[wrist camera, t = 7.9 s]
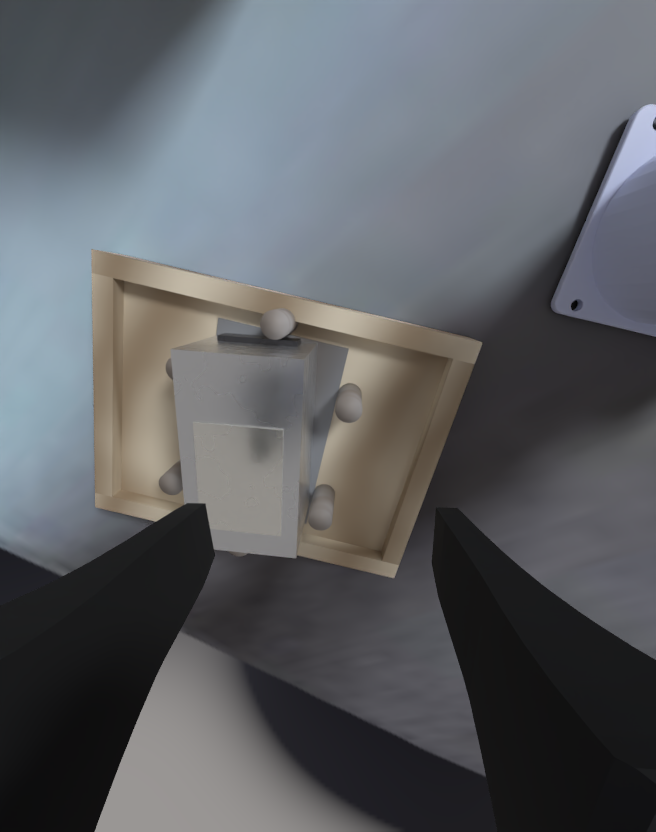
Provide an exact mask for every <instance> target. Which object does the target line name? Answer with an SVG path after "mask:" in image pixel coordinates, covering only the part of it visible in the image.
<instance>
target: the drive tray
mask: <svg viewBox="0 0 656 832" xmlns="http://www.w3.org/2000/svg"><path fill="white" fill-rule="evenodd" d="M92 317H93V384H94V452H95V507H97V508H101V509H105V510H109V511H114V512H118V513H122V514H126V515H130V516H135V517H139V518H143V519H147V520H151V521H156V522H157V521H158V520H160V519H161V518H163V517H164V516H166V515H168V514H169V513H171V512H172V511H174V510H176V509H177V508H179V507H181V506H183V505H184V496H183V484H182V473H181V462H180V451H179V440H178V429H177V418H176V407H175V395H174V384H173V373H172V362H171V351H170V349H173V348H176V347H179V346H183V345H186V344H190V343H193V342H196V341H200V340H203V339H206V338H210V337H213V336H216V335H220V334H223V333H235V334H248V335H261V336H266V337H268V338H269V339H272V340H278V339H281V338H283V337H288V338H301V342H310V343H318V345H317V364H316V383H315V402H314V421H313V440H312V458H311V477H310V496H309V505H308V509H307V514H306V518H305V522H304V527H303V531H302V535H301V540H300V544H299V548H298V553H297V555H298V556H303V557H307V558H311V559H315V560H319V561H324V562H328V563H332V564H336V565H340V566H345V567H349V568H353V569H357V570H361V571H366V572H370V573H374V574H378V575H382V576H387V577H391V578H394V577H395V575H396V572H397V569H398V567H399V564H400V561H401V559H402V556H403V553H404V551H405V548H406V545H407V543H408V540H409V537H410V535H411V532H412V529H413V527H414V524H415V521H416V519H417V516H418V513H419V511H420V508H421V506H422V503H423V500H424V498H425V495H426V492H427V490H428V487H429V484H430V482H431V479H432V476H433V474H434V471H435V468H436V466H437V463H438V460H439V458H440V455H441V452H442V450H443V447H444V444H445V442H446V439H447V436H448V434H449V431H450V428H451V426H452V423H453V420H454V418H455V415H456V413H457V410H458V407H459V405H460V402H461V399H462V397H463V394H464V391H465V389H466V386H467V383H468V381H469V378H470V375H471V373H472V370H473V367H474V365H475V362H476V359H477V357H478V354H479V351H480V349H481V346H482V342H480V341H477V340H475V339H472V338H469V337H465V336H461V335H457V334H453V333H449V332H445V331H440V330H436V329H432V328H428V327H424V326H419V325H415V324H411V323H407V322H403V321H398V320H394V319H390V318H386V317H382V316H377V315H373V314H369V313H365V312H361V311H357V310H352V309H348V308H344V307H340V306H336V305H331V304H327V303H323V302H319V301H315V300H310V299H306V298H302V297H298V296H294V295H289V294H285V293H281V292H277V291H273V290H268V289H264V288H260V287H256V286H252V285H248V284H243V283H239V282H235V281H231V280H227V279H222V278H218V277H214V276H210V275H206V274H201V273H197V272H193V271H189V270H185V269H180V268H176V267H172V266H168V265H164V264H160V263H155V262H151V261H147V260H143V259H139V258H134V257H130V256H126V255H122V254H116V253H111V252H105V251H99V250H93V249H92ZM229 552H230V553H231V554H232V555H234V556H239V557H241V556H244V555H246V554H247V553H242V552H233V551H229Z"/></svg>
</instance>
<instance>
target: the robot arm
mask: <svg viewBox="0 0 656 832" xmlns="http://www.w3.org/2000/svg"><path fill="white" fill-rule="evenodd" d="M654 119H656V105H654V104H648V105H646V106H643V107H642V108H640V109H639V110H637V111H636V112H635V113H634V114H632V116H631V117H630V119H629V121H628V123H627V125H626V128H625V130H624V132H623V135H622V137H621V139H620V142H619V144H618V146H617V149H616V151H615V153H614V156H613V158H612V160H611V163H610V165H609V167H608V170H607V172H606V174H605V177H604V179H603V181H602V184H601V186H600V188H599V191H598V193H597V195H596V198H595V200H594V202H593V205H592V207H591V209H590V212H589V214H588V216H587V219H586V221H585V223H584V226H583V228H582V231H581V233H580V235H579V238H578V240H577V242H576V245H575V247H574V249H573V252H572V254H571V256H570V259H569V261H568V263H567V266H566V268H565V270H564V273H563V275H562V277H561V280H560V282H559V284H558V287H557V289H556V291H555V294H554V296H553V298H552V301H551V308H552V310H553V311H554V312H556V313H558V314H562V315H566V316H571V317H575V318H579V319H583V320H587V321H592V322H596V323H600V324H604V325H608V326H612V327H617V328H621V329H625V330H629V331H633V332H638V333H642V334H646V335H650V336H654V337H656V130H654V129H653V126H652V124H653V120H654ZM574 300H577V302H578V306H577V307H576V309H575V310H572V309H571V303H572V302H573V301H574ZM214 556H215V553H214V548H213V542H212V537H211V531H210V525H209V520H208V514H207V509H206V503H187V504H185V505H183V506H181V507H179V508H177V509H176V510H174V511H172V512H171V513H169V514H168V515H166V516H164V517H163V518H161V519H160V520H158V521H157V522H155V523H153V524H152V525H150V526H149V527H147V528H145V529H144V530H142V531H141V532H139V533H138V534H136V535H134V536H133V537H131V538H130V539H128V540H126V541H125V542H123V543H121V544H120V545H118V546H116V547H115V548H113V549H111V550H109V551H108V552H106V553H104V554H103V555H101V556H99V557H98V558H96V559H94V560H92V561H91V562H89V563H87V564H85V565H84V566H82V567H80V568H78V569H76V570H74V571H72V572H71V573H69V574H67V575H65V576H63V577H61V578H59V579H57V580H55V581H53V582H51V583H49V584H47V585H45V586H43V587H41V588H38V589H37V590H34V591H32V592H30V593H28V594H25V595H23V596H21V597H19V598H16V599H14V600H12V601H10V602H7V603H5V604H3V605H0V832H94V831H95V829H96V826H97V823H98V820H99V817H100V815H101V812H102V810H103V807H104V804H105V802H106V799H107V796H108V794H109V791H110V788H111V786H112V783H113V780H114V777H115V775H116V772H117V770H118V767H119V764H120V762H121V759H122V757H123V754H124V751H125V749H126V747H127V744H128V742H129V739H130V737H131V734H132V732H133V729H134V727H135V724H136V722H137V719H138V717H139V715H140V712H141V710H142V708H143V705H144V703H145V701H146V698H147V696H148V694H149V691H150V689H151V687H152V684H153V682H154V680H155V677H156V675H157V673H158V671H159V669H160V667H161V665H162V663H163V661H164V659H165V657H166V655H167V653H168V651H169V649H170V648H171V646H172V644H173V642H174V640H175V639H176V637H177V634H178V633H179V631H180V629H181V627H182V625H183V624H184V622H185V620H186V618H187V616H188V614H189V612H190V611H191V609H192V607H193V605H194V603H195V601H196V599H197V597H198V595H199V593H200V591H201V590H202V588H203V586H204V583H205V580H206V578H207V575H208V573H209V570H210V568H211V565H212V562H213V559H214ZM432 566H433V572H434V577H435V583H436V588H437V593H438V597H439V600H440V604H441V607H442V610H443V614H444V617H445V620H446V623H447V626H448V630H449V633H450V636H451V639H452V642H453V646H454V649H455V652H456V655H457V658H458V662H459V665H460V668H461V671H462V674H463V677H464V681H465V685H466V688H467V692H468V696H469V700H470V704H471V709H472V713H473V718H474V722H475V727H476V731H477V735H478V740H479V744H480V749H481V754H482V759H483V764H484V768H485V773H486V778H487V782H488V787H489V792H490V797H491V801H492V807H493V812H494V817H495V822H496V827H497V832H656V660H655V659H653V658H651V657H650V656H648V655H646V654H644V653H643V652H641V651H639V650H638V649H636V648H634V647H633V646H631V645H629V644H628V643H626V642H625V641H623V640H622V639H620V638H618V637H617V636H615V635H614V634H612V633H611V632H609V631H607V630H606V629H604V628H603V627H601V626H599V625H598V624H596V623H595V622H593V621H592V620H590V619H589V618H587V617H586V616H584V615H583V614H582V613H580V612H579V611H577V610H576V609H574V608H573V607H572V606H570V605H569V604H568V603H566V602H565V601H563V600H562V599H561V598H559V597H558V596H556V595H555V594H554V593H552V592H551V591H550V590H548V589H547V588H546V587H544V586H543V585H542V584H541V583H539V582H538V581H537V580H536V579H534V578H533V577H532V576H531V575H530V574H528V573H527V572H526V571H525V570H523V569H522V568H521V567H520V566H519V565H517V564H516V563H515V562H514V561H513V560H512V559H510V558H509V557H508V556H507V555H506V554H505V553H504V552H503V551H501V550H500V549H499V548H498V547H497V546H496V545H495V544H494V543H493V542H492V541H491V540H490V539H489V538H487V537H486V536H485V535H484V534H483V533H482V532H481V531H480V530H479V529H478V528H477V527H476V526H475V525H474V524H473V523H472V522H471V521H470V520H469V519H468V518H467V517H466V516H465V515H464V514H463V513H462V512H461V511H460V510H459V509H458V508H436V517H435V529H434V542H433V554H432Z"/></svg>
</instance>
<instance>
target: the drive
mask: <svg viewBox="0 0 656 832" xmlns="http://www.w3.org/2000/svg"><path fill="white" fill-rule="evenodd" d="M317 345H318V343H310V342H301V338H288V337H283V338H281V339H278V340H272V339H269V338H268V337H266V336H261V335H248V334H235V333H223V334H220V335H216V336H213V337H210V338H206V339H203V340H200V341H196V342H193V343H190V344H186V345H183V346H179V347H176V348H173V349H170V351H171V362H172V373H173V384H174V395H175V407H176V418H177V429H178V440H179V451H180V462H181V473H182V484H183V496H184V505H185V504H187V503H206V509H207V514H208V520H209V525H210V531H211V537H212V542H213V548H214V550H223V551H233V552H242V553H251V554H260V555H269V556H278V557H287V558H296V557H297V553H298V548H299V544H300V540H301V535H302V531H303V527H304V522H305V518H306V514H307V509H308V505H309V496H310V477H311V458H312V440H313V421H314V402H315V383H316V364H317Z"/></svg>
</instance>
